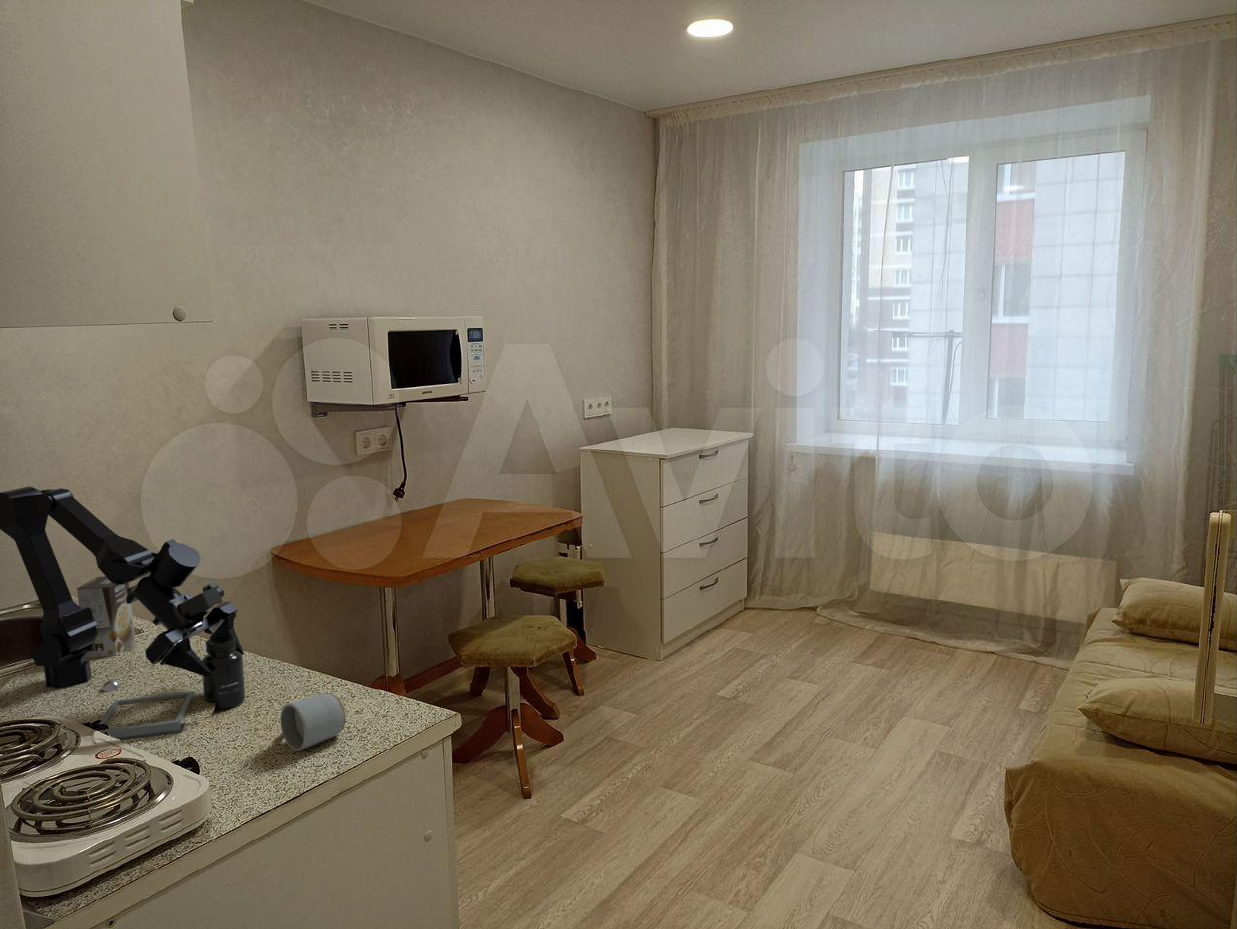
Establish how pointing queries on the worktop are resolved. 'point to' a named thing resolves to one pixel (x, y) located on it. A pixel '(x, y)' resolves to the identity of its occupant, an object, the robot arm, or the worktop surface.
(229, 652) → the supplement bottle
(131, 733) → the tray
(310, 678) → the worktop surface
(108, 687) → the mixing ball
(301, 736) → the ceramic mug
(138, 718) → the worktop surface
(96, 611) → the coffee box
